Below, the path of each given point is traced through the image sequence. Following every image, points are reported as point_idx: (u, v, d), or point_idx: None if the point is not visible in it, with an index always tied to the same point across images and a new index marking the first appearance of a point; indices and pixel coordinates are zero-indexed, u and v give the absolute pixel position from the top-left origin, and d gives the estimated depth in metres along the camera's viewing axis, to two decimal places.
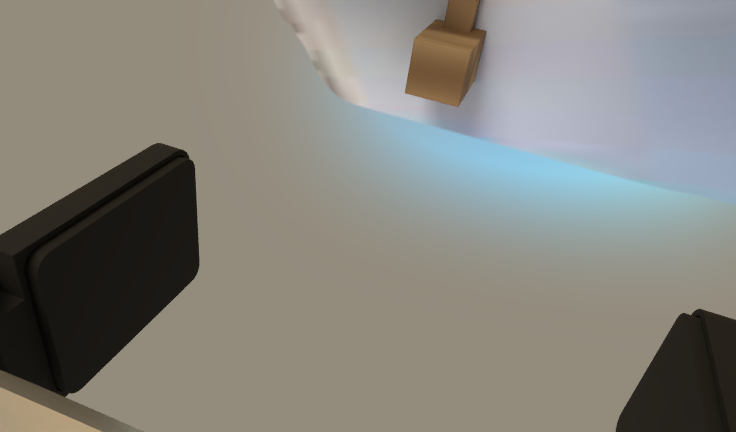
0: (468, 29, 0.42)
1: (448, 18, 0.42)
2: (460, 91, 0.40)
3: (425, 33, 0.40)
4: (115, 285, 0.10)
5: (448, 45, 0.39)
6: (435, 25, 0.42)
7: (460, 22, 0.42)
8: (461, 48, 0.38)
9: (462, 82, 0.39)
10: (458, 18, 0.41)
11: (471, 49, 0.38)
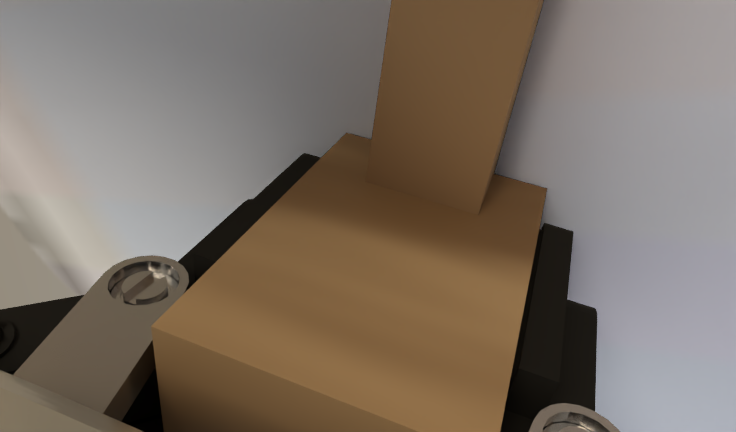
0: (473, 200, 0.09)
1: (383, 149, 0.09)
2: None
3: (252, 251, 0.08)
4: None
5: (350, 380, 0.06)
6: (331, 175, 0.10)
7: (438, 168, 0.09)
8: (432, 416, 0.06)
9: None
10: (427, 153, 0.09)
11: (496, 411, 0.06)
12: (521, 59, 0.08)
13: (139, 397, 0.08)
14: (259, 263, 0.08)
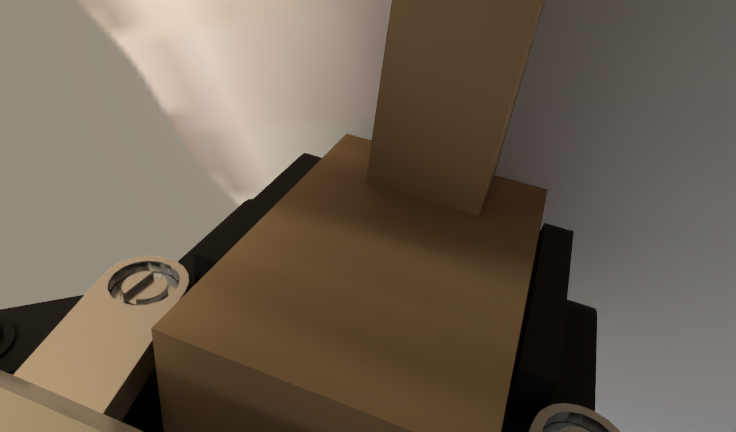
0: (473, 202, 0.09)
1: (384, 151, 0.09)
2: None
3: (253, 253, 0.08)
4: None
5: (350, 382, 0.06)
6: (332, 176, 0.10)
7: (438, 169, 0.09)
8: (432, 419, 0.06)
9: None
10: (428, 154, 0.09)
11: (496, 414, 0.06)
12: (521, 61, 0.08)
13: (139, 397, 0.08)
14: (259, 265, 0.08)
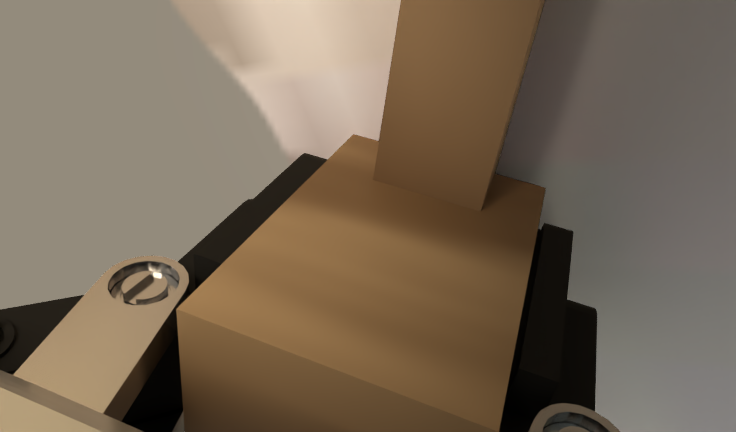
0: (476, 197, 0.10)
1: (390, 149, 0.10)
2: None
3: (268, 242, 0.08)
4: None
5: (363, 358, 0.07)
6: (341, 173, 0.10)
7: (442, 166, 0.10)
8: (440, 392, 0.06)
9: None
10: (432, 152, 0.10)
11: (499, 388, 0.07)
12: (522, 63, 0.08)
13: (139, 397, 0.08)
14: (275, 253, 0.08)
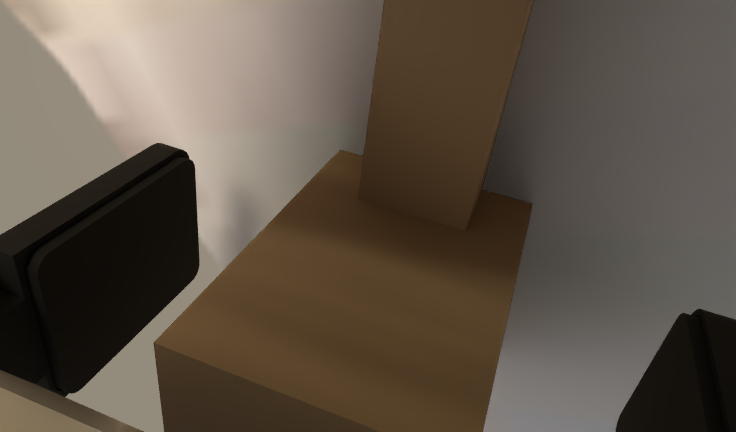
0: (460, 217, 0.10)
1: (374, 169, 0.10)
2: None
3: (249, 269, 0.08)
4: (115, 285, 0.10)
5: (341, 393, 0.07)
6: (326, 193, 0.10)
7: (427, 186, 0.10)
8: (417, 426, 0.06)
9: None
10: (416, 172, 0.10)
11: (477, 421, 0.06)
12: (503, 85, 0.08)
13: None
14: (255, 280, 0.08)
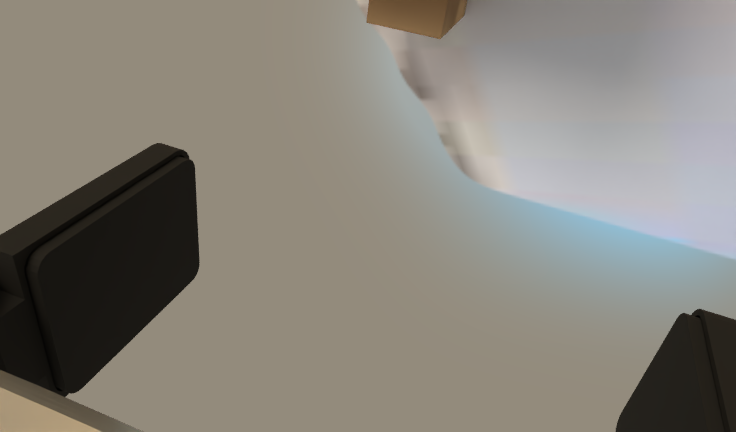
0: None
1: None
2: (443, 15, 0.28)
3: None
4: (115, 285, 0.10)
5: None
6: None
7: None
8: None
9: (445, 1, 0.28)
10: None
11: None
12: None
13: None
14: None
